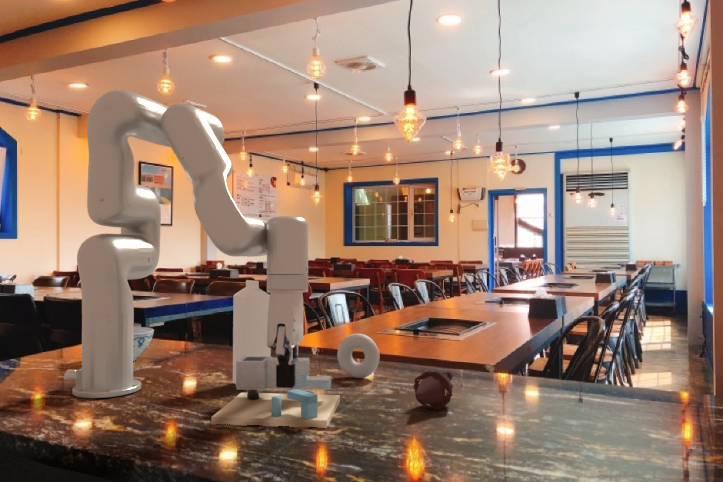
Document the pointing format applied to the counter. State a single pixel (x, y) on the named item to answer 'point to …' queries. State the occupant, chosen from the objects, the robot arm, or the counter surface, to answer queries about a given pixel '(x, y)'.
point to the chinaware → (141, 340)
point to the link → (263, 374)
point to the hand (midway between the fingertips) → (287, 383)
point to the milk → (250, 323)
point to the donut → (369, 351)
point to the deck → (261, 411)
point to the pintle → (252, 394)
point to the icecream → (433, 389)
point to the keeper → (304, 397)
